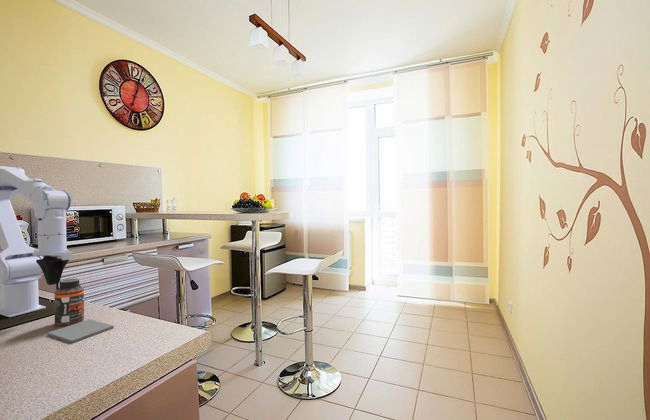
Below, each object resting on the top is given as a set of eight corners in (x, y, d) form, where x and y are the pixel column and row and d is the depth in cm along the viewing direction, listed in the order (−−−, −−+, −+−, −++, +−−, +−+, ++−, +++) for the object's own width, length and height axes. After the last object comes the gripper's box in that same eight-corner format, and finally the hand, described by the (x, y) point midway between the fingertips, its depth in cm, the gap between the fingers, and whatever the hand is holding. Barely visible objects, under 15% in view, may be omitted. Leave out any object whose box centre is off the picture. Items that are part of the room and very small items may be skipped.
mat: (47, 335, 71) (47, 332, 71) (89, 321, 79) (89, 319, 79) (72, 343, 67) (72, 340, 67) (113, 327, 76) (113, 325, 76)
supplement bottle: (71, 327, 76) (70, 283, 75) (48, 327, 76) (47, 283, 75) (90, 318, 82) (89, 277, 81) (68, 317, 82) (68, 277, 81)
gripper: (19, 234, 80) (20, 284, 81) (49, 237, 74) (50, 291, 75) (51, 232, 87) (52, 278, 87) (81, 234, 81) (82, 284, 81)
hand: (53, 283), depth 81 cm, fingers closed
